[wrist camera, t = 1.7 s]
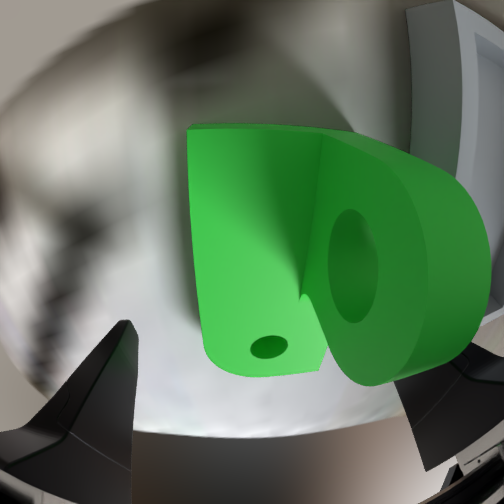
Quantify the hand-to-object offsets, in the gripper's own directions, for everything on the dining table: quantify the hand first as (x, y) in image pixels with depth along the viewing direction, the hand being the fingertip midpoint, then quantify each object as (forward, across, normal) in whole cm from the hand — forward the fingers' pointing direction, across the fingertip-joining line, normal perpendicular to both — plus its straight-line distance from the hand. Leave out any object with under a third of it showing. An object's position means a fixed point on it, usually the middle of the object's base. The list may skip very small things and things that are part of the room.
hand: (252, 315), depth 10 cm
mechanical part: (+3, -1, 0) cm, 3 cm away
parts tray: (+3, -13, -3) cm, 14 cm away
